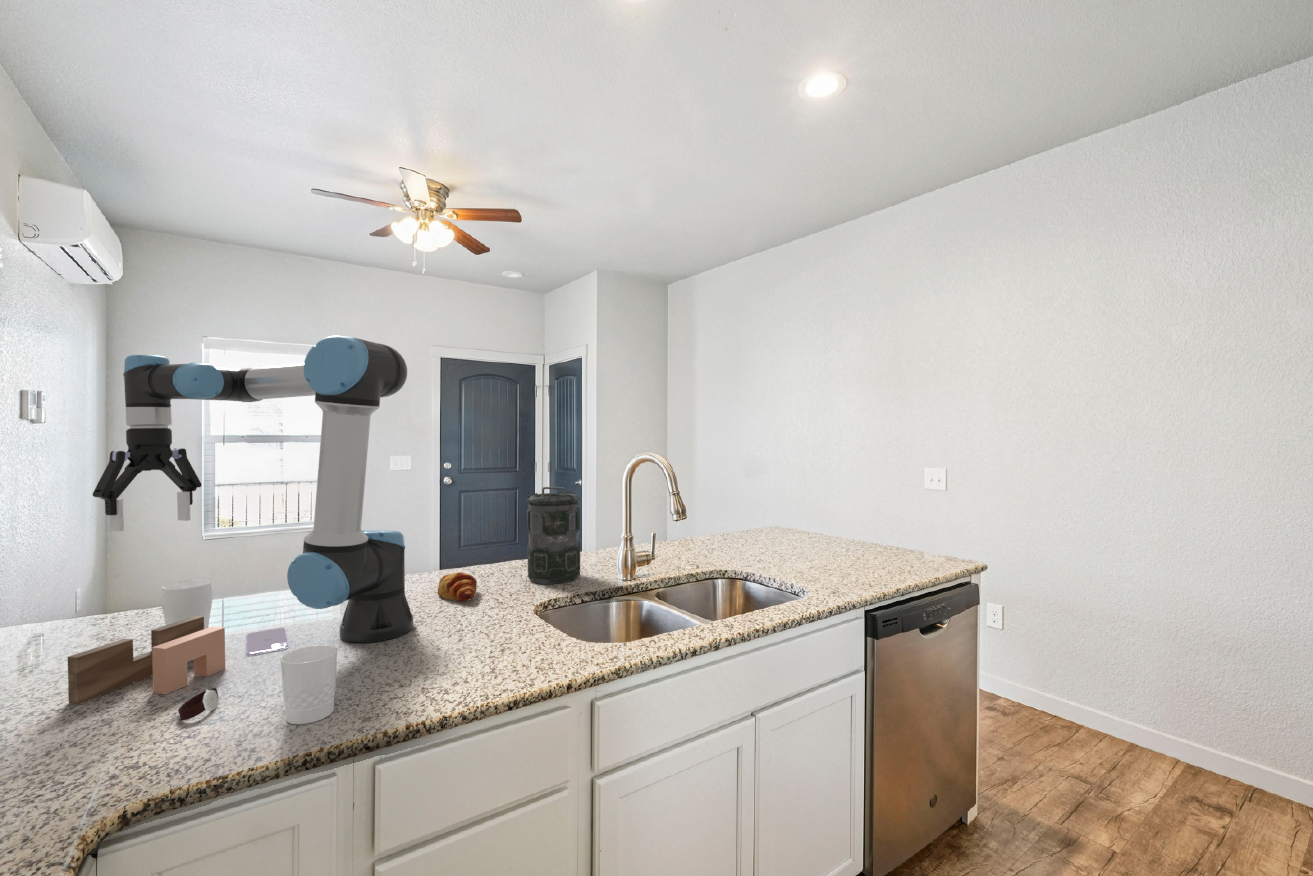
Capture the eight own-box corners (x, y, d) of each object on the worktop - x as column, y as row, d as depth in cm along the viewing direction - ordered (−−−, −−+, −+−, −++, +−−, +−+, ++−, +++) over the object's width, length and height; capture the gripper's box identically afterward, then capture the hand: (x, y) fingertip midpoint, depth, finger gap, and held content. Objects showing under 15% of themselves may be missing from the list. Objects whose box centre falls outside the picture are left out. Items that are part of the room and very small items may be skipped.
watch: (203, 722, 94) (202, 699, 94) (169, 725, 93) (168, 702, 93) (227, 699, 102) (226, 679, 102) (195, 702, 101) (195, 681, 101)
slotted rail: (204, 655, 121) (203, 616, 121) (77, 705, 100) (76, 657, 99) (196, 654, 121) (196, 615, 121) (68, 703, 100) (67, 656, 100)
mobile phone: (285, 626, 137) (289, 646, 124) (285, 630, 137) (289, 650, 124) (245, 632, 132) (245, 654, 120) (245, 637, 132) (245, 658, 120)
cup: (185, 647, 125) (184, 591, 125) (150, 644, 127) (149, 588, 127) (224, 632, 134) (223, 580, 134) (191, 629, 136) (190, 578, 136)
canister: (519, 584, 174) (518, 489, 173) (538, 571, 190) (538, 484, 189) (571, 586, 171) (570, 490, 171) (586, 573, 187) (585, 484, 186)
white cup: (297, 704, 100) (296, 645, 99) (346, 702, 100) (345, 643, 100) (271, 728, 92) (270, 664, 92) (324, 725, 92) (323, 662, 92)
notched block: (212, 667, 115) (212, 626, 115) (225, 668, 114) (224, 627, 114) (153, 692, 104) (152, 647, 104) (166, 694, 103) (165, 648, 103)
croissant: (436, 600, 170) (422, 578, 168) (466, 579, 175) (453, 557, 173) (460, 618, 153) (445, 593, 151) (493, 594, 158) (479, 570, 156)
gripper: (193, 427, 141) (196, 516, 141) (66, 428, 117) (70, 535, 117) (218, 426, 139) (220, 516, 140) (94, 427, 115) (98, 536, 115)
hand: (152, 525), depth 128 cm, fingers open, 13 cm apart
